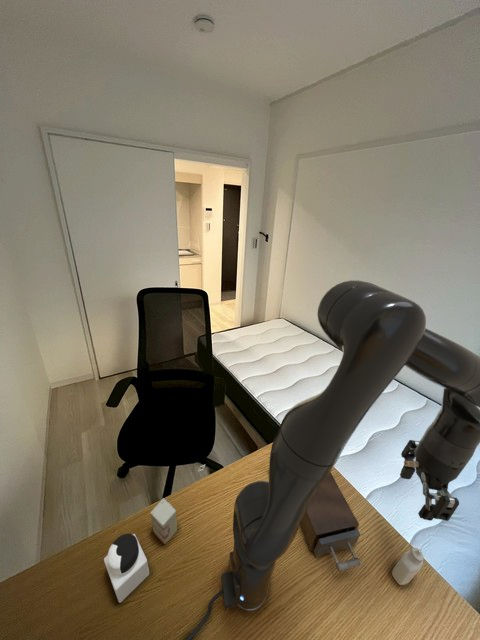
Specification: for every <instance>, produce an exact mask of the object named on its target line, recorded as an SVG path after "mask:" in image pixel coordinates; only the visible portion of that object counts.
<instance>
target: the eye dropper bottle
mask: <svg viewBox="0 0 480 640" xmlns="http://www.w3.org/2000/svg"><path fill="white" fill-rule="evenodd" d="M423 563H424V554H423V551H422V549H420V548H417V547H412V548H411V549H410V550H407V551H405V552H404V553H403V554H402V556H401V557H400V559H398V561H397V563H396V564H395V565H394V567H393V568H392V571H391V575H392V578H393V579H394V580H395V582H396V583H397V584H398V585H400V586H404V585H407V584H409V583H410V582H411V581H412V579H414V577H415V576H416V575H417V574H418V572H419V571H420V570H421V569H422V567H423Z"/></svg>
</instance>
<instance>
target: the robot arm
mask: <svg viewBox="0 0 480 640" xmlns="http://www.w3.org/2000/svg"><path fill="white" fill-rule="evenodd" d="M317 321H318V324H319V325H318V326H319V327H320V329H321V331H322V332H323V334H324V335H325V336H326V337H327V338H328V339H329V341H331V342H332V344H334V345H335V346H336V347H337V348H338V349H339V350H340V351H341V352H342V356H341V360H340V362H339V365H338V366H337V368H336V371H335V373H334V374H333V375H332V378H331V379H330V381H329V383H328V384H327V385H326V387H325V388H324V389H323V390H322V391H320V393H317V394H315V395H313V396H310V397H308V398H306V399H304V400H301V401H300V402H297V403H295V404H294V405H293V406H291V408H289V409H288V411H287V412H286V413H285V415H284V417H283V419H282V420H281V422H280V424H279V427H278V429H277V431H276V434H275V436H274V438H273V441H272V444H271V447H270V455H269V464H268V481H266V480H256V481H252V482H250V483H249V484H247V485H245V486H244V487H243V488H242V489H241V490H240V492H239V493H238V494H237V496H236V498H235V501H234V505H233V518H232V535H233V548H232V551H230V552H229V557H228V565H227V566H228V567H227V571H225V572H222V573H221V576H220V577H221V578H220V579H221V589H220V590H219V591H218V592H217V593H216V594H214V595H213V597H212V598H211V599H210V600H209V602H208V606H207V608H208V609H207V611H206V613H205V615H204V616H203V618H202V620H201V621H200V622H199V624H197V626H196V627H195V628H194V630H192V632H191V633H190V634H189V635H188V636H186V638H185V639H184V640H193V639H194V637H195V636H197V634H198V633H199V632H200V630H201V629H202V628H203V627H204V625H205V624H206V622H207V621H208V618H209V617H210V615H211V613H212V608H213V607H212V606H213V605H214V603H215V602H216V601H217V600H218V599H219V598H220V597H221V596H222V599H223V608H224V610H228V609H232V608H235V607H236V606H237V607H238V608H239V609H240V610H242V611H243V612H249V613H250V612H252V613H253V612H255V611H257V610H259V609H260V608H261V607H262V606H263V605H264V603H265V601H266V599H267V597H268V592H269V587H270V583H271V580H272V576H273V573H274V570H275V567H276V562H277V560H279V559H280V558H282V556H283V555H285V553H286V552H287V551H288V550H289V548H290V547H291V545H292V544H293V542H294V540H295V538H296V535H297V533H298V531H299V530H300V529H299V528H300V527H301V525H300V524H301V521H302V519H303V517H304V514H305V512H306V510H307V508H308V506H309V505H310V503H311V501H312V499H313V498H314V496H315V494H316V492H317V491H318V489H319V488H320V486H321V485H322V483H323V482H324V480H325V479H326V478H327V476H328V475H329V473H330V472H331V473H332V470H333V469H334V467H335V465H336V464H337V463H338V460H339V459H340V457H341V454H342V453H343V451H344V450H345V447H346V446H347V444H348V443H349V441H350V440H351V438H352V436H353V434H354V433H355V432H356V431H357V429H358V426H359V425H360V424H361V422H362V421H363V419H364V418H365V417H366V415H367V414H368V413H369V411H370V409H371V408H372V407H373V405H374V404H375V403H376V402H377V401H378V399H379V398H380V397H381V395H382V394H383V393H384V392H385V391H386V390H387V388H388V387H389V386H390V384H391V383H392V382H393V381H394V380H395V378H396V377H397V376H398V375H399V373H400V372H401V371H402V370H403V368H405V367H406V368H407V369H409V370H410V371H412V372H414V373H415V374H417V375H418V376H419V377H422V378H423V379H424V380H427V381H428V382H430V383H431V384H434V385H436V386H438V387H440V388H442V389H443V391H442V398H441V406H440V409H439V411H438V412H437V413H436V415H435V417H434V419H433V421H431V423H430V425H429V426H428V427H427V428H426V430H425V432H424V433H423V435H422V437H421V438H420V440H414V439H409V440H408V441H407V444H405V446H404V448H403V450H402V451H401V453H400V455H401V457H402V458H403V459H404V461H403V466H402V468H401V470H400V473H399V476H400V478H401V479H404V480H411V479H412V477H413V475H414V474H415V473H416V475H417V477H418V478H419V480H420V483H421V485H422V495H423V496H424V498H425V499H424V500H425V502H424V504H423V505H422V507H421V508H420V510H419V511H418V512H417V514H418V517H419V518H420V519H423V520H425V521H433V520H441V521H445V522H449V520H451V518H452V516H453V515H454V513H455V512H456V510H457V508H458V507H459V506H460V501H459V499H458V498H457V497H453V496H452V495H451V493H450V492H449V484H450V483H451V482H453V481H454V480H456V479H458V477H459V475H461V473H462V472H463V470H464V469H465V468H466V466H467V465H468V464H469V462H470V461H471V459H472V457H473V456H474V454H475V452H476V450H477V447H478V446H479V445H480V356H479V355H478V354H476V353H474V352H473V351H471V350H470V349H468V348H466V347H465V346H463V345H461V344H459V343H457V342H455V341H454V340H451V339H449V338H447V337H445V336H443V335H440V334H439V333H437V332H434V331H432V330H430V329H428V328H427V327H426V326H427V318H426V313H425V311H424V309H423V308H422V307H421V305H419V304H418V303H416V301H413V300H411V299H409V298H407V297H405V296H403V295H400V294H399V293H395V292H393V291H391V290H388V289H386V288H384V287H381V286H379V285H377V284H375V283H372V282H370V281H363V280H359V279H357V280H355V279H354V280H351V279H350V280H345V281H341V282H339V283H337V284H336V285H334V286H332V287H331V288H330V289H328V290H327V291H326V292H325V294H324V295H323V296H322V298H321V299H320V301H319V304H318V307H317ZM430 490H432V491H436V492H430ZM432 500H434V503H433V501H432Z"/></svg>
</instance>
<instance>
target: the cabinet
mask: <svg viewBox="0 0 480 640" xmlns="http://www.w3.org/2000/svg"><path fill="white" fill-rule="evenodd" d="M359 526H360V523H359V522H358V520H357V518H356V515H355V514H354V512H353V511H352V508H351V507H350V505H349V503H348V502H347V499H346V498H345V496H344V494H343V492H342V491H341V488H340V487H339V485H338V483H337V481H336V479H335V477H334V476H333V474H332V471H331V472H330V473H329V475H328V476H327V478H326V479H325V480H324V482H323V483H322V485H321V486H320V488H319V489H318V491H317V492H316V494H315V496H314V498H313V499H312V501H311V503H310V505H309V506H308V508H307V510H306V512H305V514H304V517H303V519H302V521H301V524H300V527H301V530H302V533H303V536H304V539H305V542H306V544H307V546H308V549H309V552H311V551H314V549H315V547H316V544H317V543H316V541H317V538H318V536H320V535H324V534H328V533H332V532H336V531H341V530H345V529H349V528H350V529H349V531H352V530H356V529H358V528H359Z"/></svg>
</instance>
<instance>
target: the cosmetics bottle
mask: <svg viewBox="0 0 480 640" xmlns="http://www.w3.org/2000/svg"><path fill="white" fill-rule="evenodd" d="M150 516H151V517H150V518H151V524H152V532H153V533H154V535H155V536H156V537H157V539H158V540H160V542H161V543H162V544H163V545H164V546H165V545H167V544H168V543H169V541H170V540H171V539H172V538H173V536H174V535H175V534H176V532H177V531H178V523H177V521H178V520H177V509H176V508H175V507H174V506H173V505H172V504H171V502H169V501H167V500H166V499H165V498H164V497H163V498H162V499H161V500H160V501H159V502H158V503H157V504H156V505H155V507H153V508H152V510H151V511H150Z"/></svg>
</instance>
